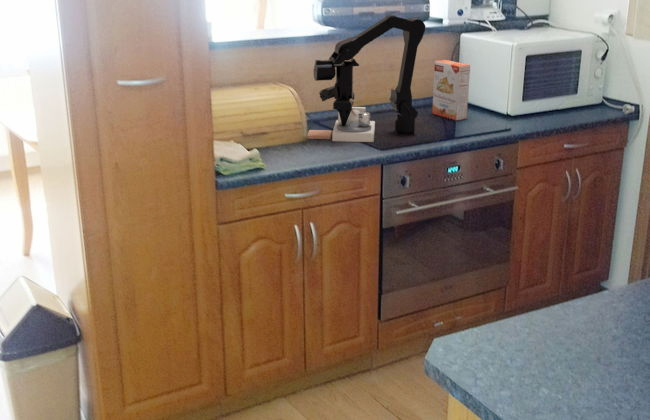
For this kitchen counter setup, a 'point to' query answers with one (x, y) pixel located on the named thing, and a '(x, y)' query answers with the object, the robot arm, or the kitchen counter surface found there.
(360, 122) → the cylinder
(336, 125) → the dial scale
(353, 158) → the kitchen counter surface
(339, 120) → the cylinder
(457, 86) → the cracker box
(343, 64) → the robot arm
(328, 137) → the rubber mat
